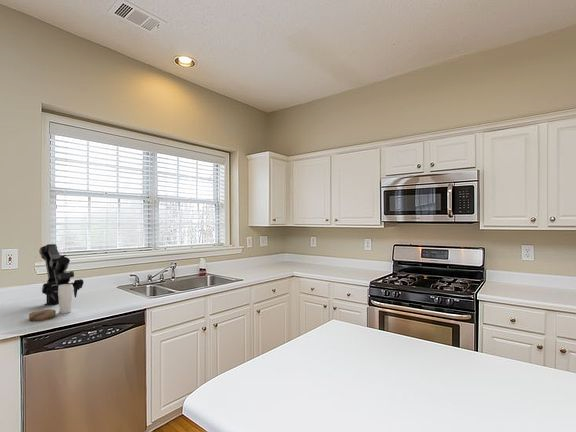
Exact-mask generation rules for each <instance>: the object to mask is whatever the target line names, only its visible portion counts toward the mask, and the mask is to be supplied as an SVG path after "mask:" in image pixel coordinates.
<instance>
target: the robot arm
mask: <svg viewBox="0 0 576 432" xmlns="http://www.w3.org/2000/svg"><path fill="white" fill-rule="evenodd" d="M38 252H39V255H40V257H41V259H43V260H44V262H45V266H46V272H47V277H48V278H47V281H46V283H43V284H42V288H41V293H42V294H44V295H45V296H46V301H45V302H46V303H44V305H45V306H47V305H49V306H51V305H52V306H53V305H55V306H56V305H59V299H58V286H59V285H63V284H72V285H73V295H74V298H77V295H78V291H79V290H81V289H83V286H84V279H81V278H80V279H74V281H73V282H71V278H74V277H75V272H74V271H73V270H72V271H69V272H67V270H68V268H69V264H70V262H71V260H70V258H69V257H66V256H65V255H61V254H60V252H59V250H58V245H57V243H51V244H48V243H47V244H46V245H43V246H41V247H40V248H39V251H38ZM69 282H70V283H69Z"/></svg>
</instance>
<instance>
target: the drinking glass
mask: <svg viewBox="0 0 576 432" xmlns="http://www.w3.org/2000/svg"><path fill="white" fill-rule="evenodd" d="M73 290H74V288H73V285H72V284H63V285H59V286H58V299H59V303H58V308H59V309H58V311H59V314H63V315H64V314H69V313H71V312H72V303H73V295H74V291H73Z"/></svg>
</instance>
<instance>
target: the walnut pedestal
mask: <svg viewBox="0 0 576 432" xmlns="http://www.w3.org/2000/svg"><path fill="white" fill-rule="evenodd" d="M56 312H57V311H56V310H55V309H51V308H50V309H48V308H47V309H41V310H40V309H39V310H34V311H32V312H30V313H29V314H28V321H29V322H34V323H35V322H44V321H49V320H51V319H55V318H56Z"/></svg>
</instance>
